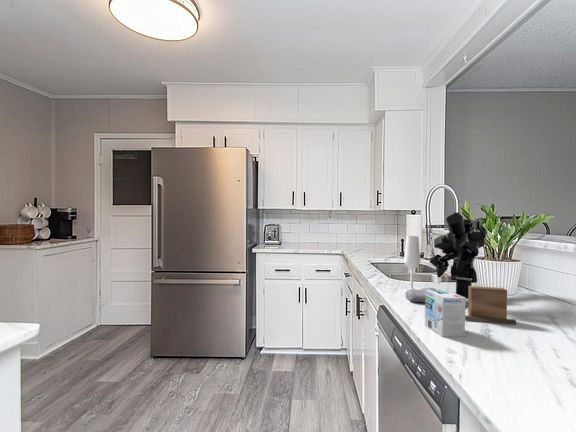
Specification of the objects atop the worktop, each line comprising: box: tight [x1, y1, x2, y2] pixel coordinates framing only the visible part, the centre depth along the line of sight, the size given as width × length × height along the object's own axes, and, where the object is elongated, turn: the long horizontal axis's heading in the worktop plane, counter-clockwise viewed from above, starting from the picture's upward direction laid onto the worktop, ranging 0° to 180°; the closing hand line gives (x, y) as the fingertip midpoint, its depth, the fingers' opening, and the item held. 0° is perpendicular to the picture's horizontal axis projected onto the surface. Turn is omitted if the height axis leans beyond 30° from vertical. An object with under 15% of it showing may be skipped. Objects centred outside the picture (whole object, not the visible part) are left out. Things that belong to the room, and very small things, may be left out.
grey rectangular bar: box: [465, 314, 517, 326], centre depth 109 cm, size 2×14×1 cm, turn 75°
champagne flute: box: [403, 235, 421, 293], centre depth 149 cm, size 7×7×24 cm
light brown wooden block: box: [467, 285, 508, 319], centre depth 112 cm, size 4×10×10 cm, turn 75°
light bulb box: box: [424, 289, 467, 338], centre depth 100 cm, size 11×7×11 cm, turn 5°
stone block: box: [404, 287, 438, 303], centre depth 134 cm, size 12×5×10 cm
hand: (447, 273), depth 127 cm, fingers open, 9 cm apart
